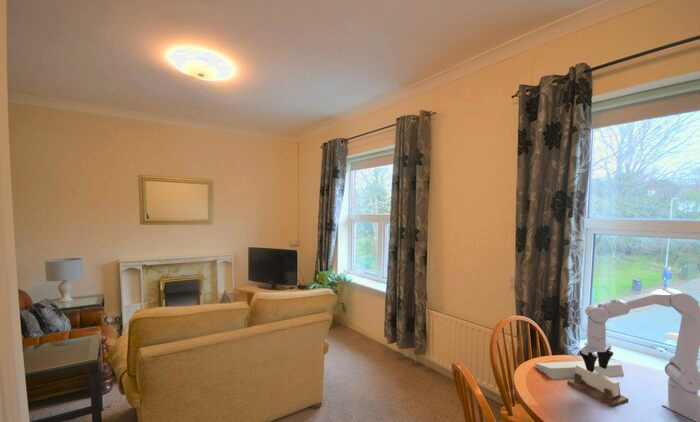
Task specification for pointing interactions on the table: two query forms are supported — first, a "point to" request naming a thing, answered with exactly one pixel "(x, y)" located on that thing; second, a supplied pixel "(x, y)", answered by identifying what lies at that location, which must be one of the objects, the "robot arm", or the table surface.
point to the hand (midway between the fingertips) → (596, 369)
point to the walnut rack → (597, 392)
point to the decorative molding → (569, 369)
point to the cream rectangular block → (598, 379)
